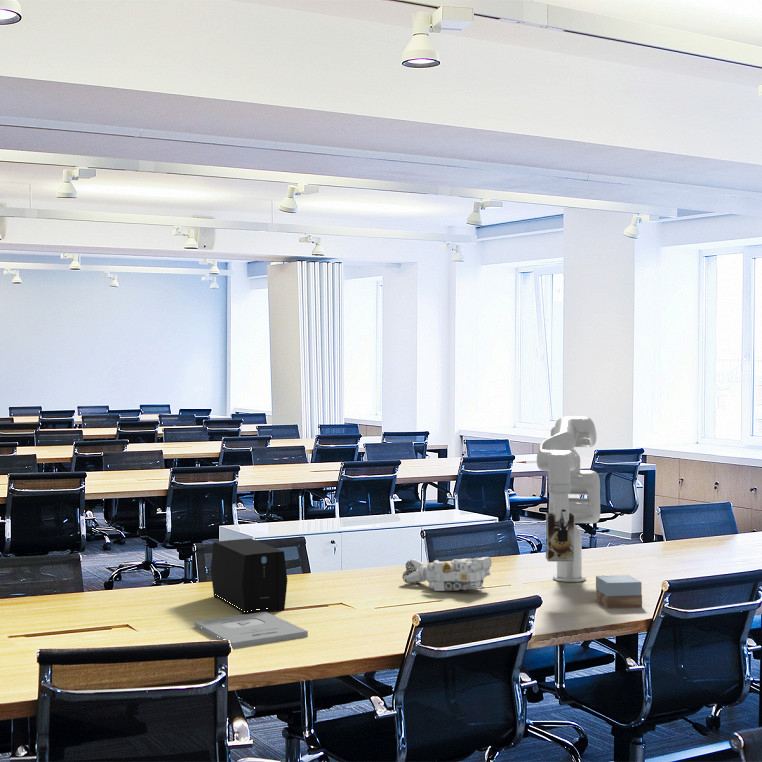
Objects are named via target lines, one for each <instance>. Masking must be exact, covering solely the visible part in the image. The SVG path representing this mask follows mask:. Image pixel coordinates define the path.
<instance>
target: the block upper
mask: <svg viewBox="0 0 762 762" xmlns="http://www.w3.org/2000/svg"><path fill="white" fill-rule="evenodd" d="M596 589H597V590H599V591H600V592H602V593H603V594H605V595H606V596H633V595H642V589H643V588H642V581H640V580H638V579H637V578H635V577H633V576H631V575H630V574H623V575H622V574H619V575H595V590H596ZM642 596H643V595H642Z"/></svg>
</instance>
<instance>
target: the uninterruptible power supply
mask: <svg viewBox="0 0 762 762" xmlns="http://www.w3.org/2000/svg"><path fill="white" fill-rule="evenodd" d="M212 544H213V545H212V553H211V554H212V555H211V563H210V575H211V583H212V591H213V597H214V598H216V599H217V600H219V601H220V602H222V603H224V604H226V605H228V606H230V608H232V609H234V610H236V611H237V612H240V613H241V614H242V615H246V614H253V613H260V612H267V613H269V612H275V611H277V612H279V611H284V610H285V609H286V607H285V606H286V598H287V597H286V596H287V590H288V589H287V588H288V575H287V573H288V572H287V565H286V564H287V563H286V558H285V551H284V550H281V549H279V548H276V547H274V546H271V545H268V544H266V543H264V542H262V541H257V540H256V539H252V538H240V539H229V540H217V541H213V543H212ZM215 594H216V595H215ZM217 595H218V596H219V597H218V596H217ZM220 597H221V598H220ZM222 598H223V599H222ZM224 599H225V600H226V601H225V600H224ZM227 601H228V602H227ZM229 602H230V603H231V604H230V603H229ZM232 604H233V605H232ZM234 605H235V606H234ZM236 606H237V607H238V608H237V607H236ZM239 608H240V609H239ZM266 608H268V609H266ZM241 609H242V610H241ZM256 609H260V610H256ZM251 610H252V611H251ZM244 611H245V612H244ZM247 611H248V612H247Z"/></svg>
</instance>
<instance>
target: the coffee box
mask: <svg viewBox="0 0 762 762" xmlns="http://www.w3.org/2000/svg"><path fill="white" fill-rule="evenodd" d="M567 519H568V518H567ZM560 521H563V519H560ZM561 524H562V523H561ZM567 524H568V526H567V527H568V541H567V542H559V541H558V530H559V525H558V521H557V522H554V515H552V514H550V513H549V512H545V559H546V561H547V562H556V563H557V562H574V524H575V523H574V515H573V514H571V513H569V521H568V523H567Z"/></svg>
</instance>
